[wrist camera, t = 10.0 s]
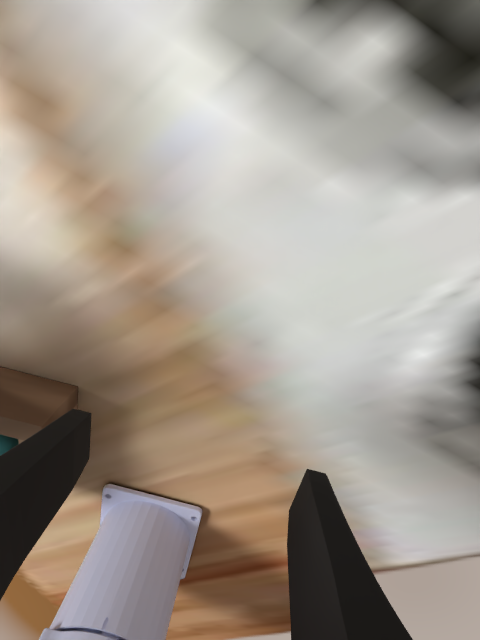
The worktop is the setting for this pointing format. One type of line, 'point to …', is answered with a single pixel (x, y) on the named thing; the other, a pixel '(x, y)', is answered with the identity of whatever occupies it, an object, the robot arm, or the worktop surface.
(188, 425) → the worktop surface
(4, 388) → the socket block
